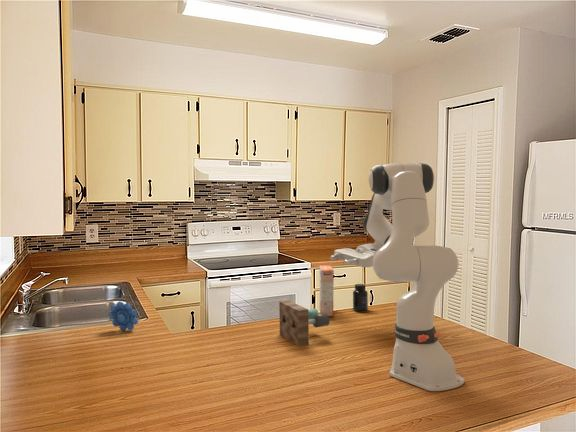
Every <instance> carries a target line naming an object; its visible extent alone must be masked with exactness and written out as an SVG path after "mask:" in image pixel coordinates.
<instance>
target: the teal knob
mask: <svg viewBox="0 0 576 432" xmlns="http://www.w3.org/2000/svg"><path fill="white" fill-rule="evenodd" d="M318 314H319V310H318V309H317V308H312V309H311V308H310V309H308V320H310V319H312V316H313V315H318ZM285 319H286V317H285Z"/></svg>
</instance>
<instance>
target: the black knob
mask: <svg viewBox="0 0 576 432" xmlns="http://www.w3.org/2000/svg"><path fill="white" fill-rule="evenodd" d="M308 323H309V325H312V326H313V327H314V328H321V327H326V326H327V327H328V326H329V325H330V316H328V314H326V313H324V314H321V313H318V315H313V316H312V319H310V320H308ZM295 326H296V322H295Z"/></svg>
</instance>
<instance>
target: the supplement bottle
mask: <svg viewBox="0 0 576 432" xmlns="http://www.w3.org/2000/svg"><path fill="white" fill-rule="evenodd" d="M368 295H369V294H368V291H367V290H366V284H364V283H357V284H354V290H353V291H352V306H353V307H352V310H353V311H355V312H360V313H362V312H363V313H364V312H367V311H368V309H369V308H368V307H369V305H368V304H369V299H368V298H369V297H368Z"/></svg>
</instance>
